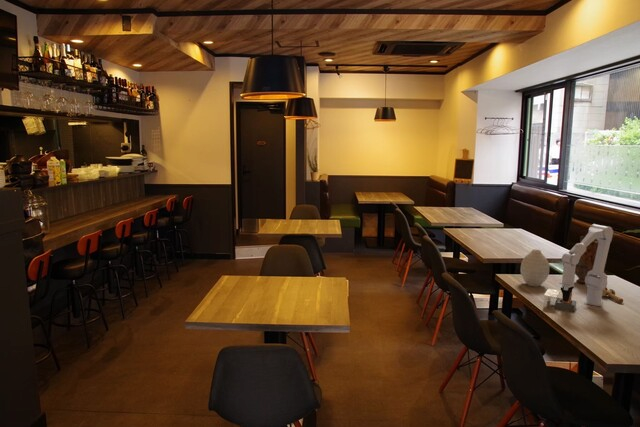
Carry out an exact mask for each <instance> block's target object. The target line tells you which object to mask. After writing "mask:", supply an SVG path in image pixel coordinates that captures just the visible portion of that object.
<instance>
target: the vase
mask: <svg viewBox="0 0 640 427" xmlns="http://www.w3.org/2000/svg"><path fill="white" fill-rule="evenodd" d="M520 275H521V277H522V279H523V282H525V283H526V285H527V286H529V287H535V288H536V287H540V286H541V285H543V284H544V283H545V282H546V280H547V279H548V277H549V275H550V264H549V261H548V259H547V258H546V256H545V255H544V254H543V253H542V250H541V249H537V248H536V249H532V250H531V251H530V252H529V253H528V254H526V255H525V256H524V258H523V259H522V261H521V263H520Z"/></svg>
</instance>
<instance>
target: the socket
mask: <svg viewBox="0 0 640 427" xmlns="http://www.w3.org/2000/svg"><path fill="white" fill-rule="evenodd" d="M576 307H577V300H574V299H573V300H572V299H571V304H568V303H562V297H557V298H556V300H555V302H554V309H557V310H562V311H566V312H570V313H571V312H573V313H574V312H575V310H576V309H577V308H576Z"/></svg>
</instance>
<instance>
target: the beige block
mask: <svg viewBox="0 0 640 427" xmlns="http://www.w3.org/2000/svg"><path fill="white" fill-rule="evenodd" d="M560 293H561V290H558V289H553V288H548V289H547V290H546V291H545V293H544V294H543V297H544V299H543V308H544V309H547V308H548V303H551V299H554V300H555V299H556V300H557V298H558V296H559V295H560Z"/></svg>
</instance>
